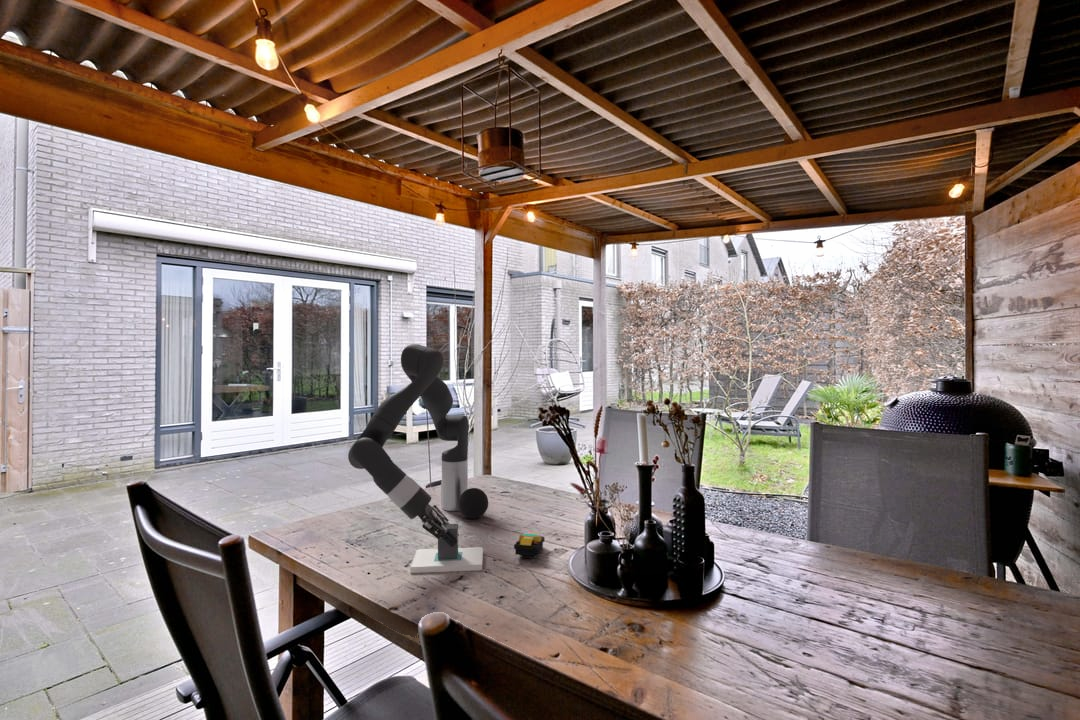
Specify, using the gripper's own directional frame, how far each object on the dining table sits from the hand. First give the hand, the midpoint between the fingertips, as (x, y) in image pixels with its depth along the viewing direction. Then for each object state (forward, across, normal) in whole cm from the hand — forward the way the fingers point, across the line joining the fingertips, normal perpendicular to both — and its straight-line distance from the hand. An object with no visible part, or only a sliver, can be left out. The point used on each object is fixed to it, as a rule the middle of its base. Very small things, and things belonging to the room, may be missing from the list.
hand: (455, 540), depth 140 cm
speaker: (+6, +37, +2) cm, 38 cm away
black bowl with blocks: (+19, +4, -10) cm, 22 cm away
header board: (+3, 0, +5) cm, 6 cm away
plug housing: (+2, 0, +4) cm, 5 cm away
